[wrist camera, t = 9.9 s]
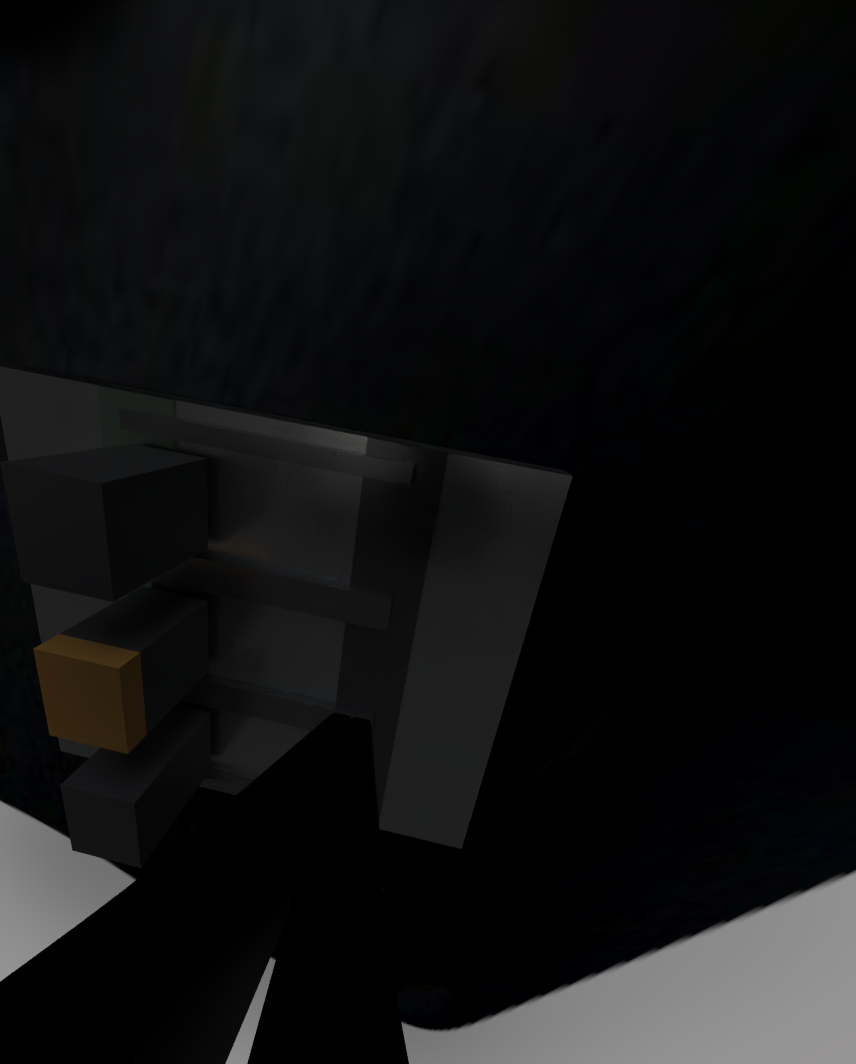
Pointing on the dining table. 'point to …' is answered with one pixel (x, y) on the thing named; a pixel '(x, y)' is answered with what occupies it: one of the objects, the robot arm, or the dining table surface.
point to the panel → (328, 583)
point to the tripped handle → (123, 668)
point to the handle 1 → (106, 517)
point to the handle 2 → (138, 789)
